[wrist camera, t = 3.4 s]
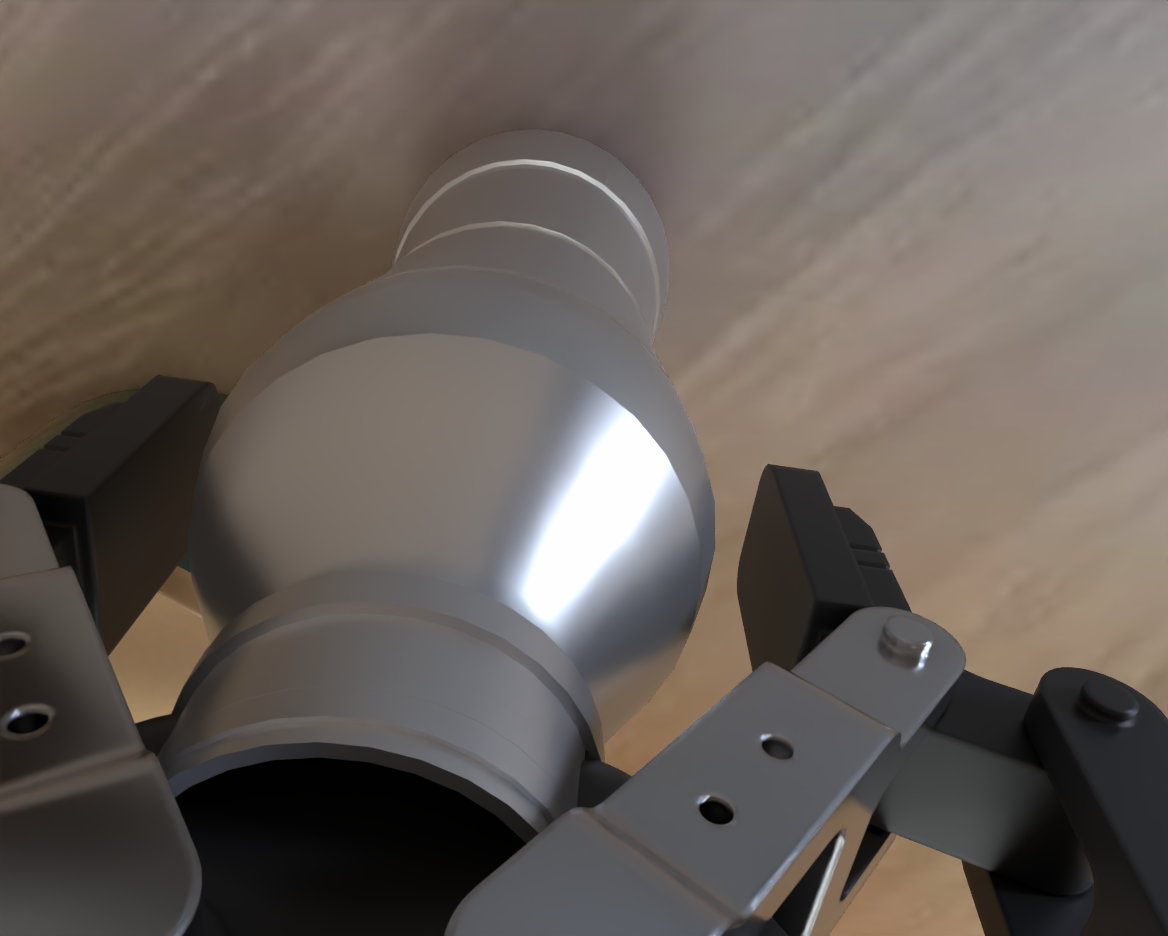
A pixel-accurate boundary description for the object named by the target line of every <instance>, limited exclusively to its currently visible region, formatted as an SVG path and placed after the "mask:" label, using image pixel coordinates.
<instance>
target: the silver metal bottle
mask: <svg viewBox="0 0 1168 936" xmlns="http://www.w3.org/2000/svg"><path fill="white" fill-rule="evenodd" d="M669 281H670V263H669V248H668V244H667V240H666V235H665V231H664V227H663V223H662V221H661V219H660V216H659V214H658V212H657V210H656V208H655V205H654V203H653V201H652V199H651V197H650V196H649V194H648V193H647V192H646V190H645V189H644V187H643V186H642V185H641V183H640V182H639V181H638V179H637V178H636V176H635V175H634V174H633V173H632V172H631V171H630V170H628V169H627V168H626V167H625V166H624V165H623V164H622V163H621V162H620V161H618V160H617V159H616V158H615V157H614V156H613V155H611V154H609V153H608V152H606V151H604V150H603V149H601V148H599V147H597V146H596V145H594V144H592V143H591V142H589V141H586V140H583V139H580V138H577V137H574V136H571V135H568V134H565V133H562V132H555V131H546V130H537V129H528V130H518V131H509V132H502V133H499V134H496V135H493V136H490V137H487V138H484V139H481V140H478V141H476V142H474V143H472V144H470V145H469V146H467V147H465V148H464V149H462V150H460V151H459V152H457V153H455V154H453V155H452V156H451V157H449V158H448V159H447V160H446V161H445V162H444V163H443V164H442V165H441V166H440V167H439V168H437V169H436V170H435V171H434V172H433V173H432V174H431V175H430V176H429V178H428V179H427V180H426V182H425V183H424V185H423V186H422V187H421V189H420V190H419V192H418V193H417V194H416V196H415V197H414V199H413V201H412V203H411V206H410V208H409V210H408V212H407V214H406V217H405V219H404V221H403V223H402V227H401V230H400V233H399V236H398V240H397V244H396V248H395V253H394V257H393V262H392V267H391V269H390V270H389V271H388V272H387V273H386V274H384V275H382V276H380V277H378V278H376V279H374V280H372V281H370V282H368V283H366V284H364V285H362V286H361V287H358V288H355V289H353V290H351V291H350V292H348V293H346V294H344V295H342V296H341V297H339V298H337V299H335V300H334V301H332V302H330V303H328V304H326V305H325V306H323V307H321V308H319V309H318V310H316V311H314V312H312V313H311V314H310V315H309V316H307V317H306V318H305V319H304V320H303V321H301V322H300V323H299V324H297V325H296V326H295V327H293V328H292V329H290V330H289V331H288V332H286V333H285V334H284V335H283V336H282V337H281V338H280V339H279V340H278V341H276V342H275V343H274V344H273V345H272V346H271V347H270V348H269V349H268V350H266V351H265V352H264V353H263V354H262V355H261V356H260V357H259V358H258V359H256V360H255V361H254V362H253V363H252V364H251V365H250V366H249V367H248V368H247V370H246V371H245V373H244V374H243V376H242V377H241V378H240V380H239V381H238V383H237V384H236V386H235V387H234V388H233V390H232V391H231V393H230V394H229V396H228V397H227V398H226V400H225V401H224V403H223V404H222V406H221V408H220V410H219V413H218V415H217V418H216V420H215V423H214V425H213V428H212V430H211V433H210V435H209V438H208V440H207V443H206V445H205V448H204V451H203V455H202V460H201V465H200V469H199V474H198V478H197V483H196V488H195V492H194V499H193V506H192V512H191V519H190V526H189V533H188V544H189V556H190V568H191V580H192V584H193V587H194V591H195V594H196V598H197V601H198V605H199V608H200V612H201V615H202V619H203V622H204V625H205V629H206V632H207V635H208V639H209V642H210V645H209V647H208V648H207V649H206V650H205V652H204V653H203V654H202V656H201V658H200V659H199V661H198V663H197V664H196V666H195V668H194V669H193V671H192V673H191V674H190V676H189V678H188V679H187V681H186V683H185V684H184V686H183V688H182V690H181V693H180V695H179V697H178V699H177V702H176V704H175V706H174V708H173V711H172V713H171V714H173V713H177V712H182V713H181V715H180V717H179V719H178V721H177V723H176V725H175V727H174V728H173V730H172V732H171V734H170V735H169V737H168V739H167V741H166V742H165V744H164V746H163V747H162V749H161V751H160V752H159V754H158V756H157V758H158V760H159V762H160V764H161V766H162V768H163V771H164V773H165V775H166V778H167V780H168V783H169V785H170V788H171V790H172V792H173V795H174V797H176V796H178V795H179V794H181V793H182V792H183V791H185V790H186V789H188V788H189V787H190V786H193V785H195V784H197V783H200V782H202V781H204V780H207V779H209V778H211V777H214V776H216V775H218V774H221V773H223V772H225V771H228V770H231V769H235V768H240V767H244V766H249V765H253V764H258V763H262V762H267V761H271V760H285V759H302V758H330V759H340V760H351V761H361V762H369V763H373V764H377V765H381V766H385V767H389V768H393V769H397V770H401V771H405V772H409V773H413V774H417V775H419V776H421V777H424V778H426V779H428V780H431V781H433V782H436V783H438V784H440V785H443V786H445V787H448V788H450V789H452V790H455V791H457V792H459V793H461V794H462V795H464V796H466V797H467V798H469V799H470V800H472V801H474V802H475V803H477V804H478V805H480V806H482V807H483V808H485V809H486V810H488V811H490V812H491V813H493V814H494V815H496V816H497V817H498V818H499V819H500V820H501V821H502V822H504V823H505V824H506V825H507V826H508V827H509V828H510V829H511V830H512V831H513V832H515V833H516V834H517V835H518V836H519V837H520V838H521V839H522V840H523V841H524V842H526V844H527V843H528V842H530V841H531V840H532V839H533V838H534V837H536V836H537V835H538V834H539V833H540V832H542V831H543V830H544V829H545V828H546V827H547V826H549V825H550V824H551V823H552V822H553V821H555V820H556V819H557V818H559V817H560V816H561V815H562V814H564V813H566V812H567V811H569V810H571V809H574V808H576V807H577V801H578V786H579V774H580V768H581V764H582V761H583V760H585V750H587V751H590V752H589V757H590V758H593V759H596V760H598V761H601V762H604V763H605V755H604V744H605V743H606V742H607V741H608V740H609V739H610V738H611V737H612V736H613V735H615V734H616V733H617V732H618V731H619V730H620V729H621V728H622V727H623V726H624V725H625V724H626V723H627V722H628V721H629V720H630V719H631V718H632V717H634V716H635V715H636V714H637V713H638V712H639V711H640V710H641V709H642V708H643V707H644V706H645V705H646V704H647V703H648V702H649V701H650V700H651V698H652V697H653V696H654V694H655V693H656V692H657V690H658V689H659V688H660V686H661V685H662V684H663V682H664V681H665V680H666V678H667V677H668V676H669V674H670V673H671V672H672V670H673V669H674V667H675V665H676V663H677V661H678V659H679V657H680V654H681V652H682V650H683V648H684V646H685V644H686V641H687V639H688V637H689V635H690V633H691V630H692V628H693V625H694V622H695V620H696V617H697V614H698V611H699V608H700V606H701V603H702V600H703V597H704V594H705V592H706V588H707V583H708V578H709V574H710V569H711V564H712V560H713V555H714V550H715V501H714V497H713V493H712V489H711V484H710V480H709V476H708V472H707V468H706V463H705V459H704V455H703V453H702V450H701V447H700V445H699V442H698V439H697V436H696V433H695V429H694V426H693V424H692V422H691V420H690V418H689V416H688V414H687V412H686V410H685V408H684V406H683V404H682V402H681V400H680V397H679V395H678V393H677V391H676V389H675V387H674V385H673V384H672V382H671V381H670V380H669V378H668V376H667V374H666V372H665V371H664V369H663V367H662V365H661V364H660V362H659V360H658V358H657V357H656V355H655V353H654V351H653V348H652V345H653V342H654V340H655V337H656V334H657V331H658V329H659V326H660V323H661V321H662V317H663V313H664V309H665V306H666V300H667V294H668V287H669Z"/></svg>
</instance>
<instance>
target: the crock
mask: <svg viewBox="0 0 1168 936" xmlns="http://www.w3.org/2000/svg"><path fill="white" fill-rule="evenodd" d="M140 389H141V388H140ZM140 389H134V390H128V391H121V392H115V393H111V394H108V395H104V396H101V397H98V398H95V399H91V400H88V401H85V402H83V403H81V404H79V405H77V406H75V407H73V408H71V409H69V410H67V411H65V412H63V413H61V414H60V415H58V416H57V417H56V418H54V419H53V420H51V421H50V422H48V423H47V424H46V425H44V426H43V427H41V428H40V429H39V430H38V431H36V432H35V433H34V434H32V435H31V436H30V437H29V438H27V439H26V440H25V441H23V442H22V443H21V444H20V445H18V446H17V447H16V448H14V449H13V450H12V451H11V452H9V453H8V454H7V455H5V456H4V457H3V458H2V459H0V480H1V479H2V478H3V477H5V476H6V475H7V474H8V473H10V472H11V471H12V470H13V469H15V468H16V467H17V466H18V465H20V464H21V463H22V462H24V461H25V460H26V459H27V458H29V457H30V456H31V455H32V454H34V453H35V452H36V451H37V450H39V449H44V445H45V444H46V443H47V442H49V441H50V440H51V439H52V438H54V437H55V436H56V435H61V431H62V430H64V429H65V428H66V427H67V426H69V425H70V424H71V423H72V422H74V421H75V420H76V419H78V418H79V417H80V416H81V415H83V414H85V413H88V412H91V411H93V410H96V409H99V408H101V407H104V406H107V405H109V404H112V403H115V402H118V403H124V402H125V401H127V400H128V399H129V398H130V397H131V396H133V395H134V394H135V393H136V392H137V391H139V390H140ZM227 397H228V396H225V395H220V394H218V398H219V410H220V408H221V406H222V404H223V403H224V401H225V400H226V398H227ZM209 645H210V642H209V639H208V635H207V632H206V629H205V625H204V622H203V619H202V615H201V612H200V608H199V605H198V601H197V598H196V594H195V591H194V587H193V584H192V580H191V568H190V556H189V551H188V553H187V554H186V555H185V557H184V558H183V559H182V561H181V562H180V563H179V564H178V566H177V567H176V568H175V570H174V571H173V572H172V574H171V575H170V576H169V578H168V579H167V580H166V582H165V583H164V584H163V585H162V587H161V588H160V589H159V591H158V592H157V593H156V595H155V596H154V597H153V599H152V600H151V601H150V603H149V604H148V605H147V606H146V608H145V609H144V610H143V612H142V613H141V614H140V616H139V617H138V618H137V620H136V621H135V622H134V624H133V625H132V626H131V628H130V629H129V630H128V631H127V633H126V634H125V635H124V637H123V638H122V639H121V641H120V642H119V643H118V645H117V646H116V647H115V649H114V650H113V651H112V652H111V654H110V655H109V656H108V657H109V660H110V662H111V665H112V667H113V670H114V672H115V675H116V677H117V680H118V682H119V685H120V687H121V690H122V692H123V695H124V697H125V700H126V702H127V705H128V707H129V710H130V712H131V715H132V717H133V720H134V722H135V723H138V722H141V721H145V720H148V719H151V718H155V717H159V716H164V715H168V714H171V713H172V711H173V708H174V706H175V704H176V702H177V699H178V697H179V695H180V693H181V690H182V688H183V686H184V684H185V683H186V681H187V679H188V678H189V676H190V674H191V673H192V671H193V669H194V668H195V666H196V664H197V663H198V661H199V659H200V658H201V656H202V654H203V653H204V652H205V650H206V649H207V648H208V647H209Z"/></svg>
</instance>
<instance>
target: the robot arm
mask: <svg viewBox="0 0 1168 936" xmlns="http://www.w3.org/2000/svg"><path fill="white" fill-rule="evenodd" d="M218 413H219V398H218V393H217V389H216V387H215V386H214V384H213V383H210V382H203V381H197V380H190V379H183V378H176V377H169V376H162V375H158V376H156V377H154V378H153V379H152V380H150V381H149V382H148V383H147V384H146V385H145V386H143V387H142V388H141V389H140V390H139V391H137V392H136V393H135V394H134V395H133V396H131V397H130V398H129V399H128V400H127V401H125V402H124V403H118V402H115V403H112V404H109V405H107V406H104V407H101V408H99V409H96V410H93V411H91V412H88V413H85V414H83V415H81V416H80V417H79V418H78V419H76V420H75V421H74V422H72V423H71V424H70V425H69V426H67V427H66V428H65V429H64V430H62V431H61V435H56V436H55V437H54V438H52V439H51V440H50V441H49V442H47V443H46V444H45V445H44V449H39V450H37V451H36V452H35V453H34V454H32V455H31V456H30V457H29V458H27V459H26V460H25V461H24V462H22V463H21V464H20V465H18V466H17V467H16V468H15V469H13V470H12V471H11V472H10V473H8V474H7V475H6V476H5V477H3V478H2V479H1V480H0V936H829V935H830V933H831V932H832V930H833V929H834V927H835V926H836V924H837V923H838V921H839V920H840V919H841V917H842V916H843V914H844V913H845V911H846V910H847V908H848V907H849V905H850V904H851V903H852V901H853V900H854V898H855V897H856V895H857V894H858V892H859V891H860V889H861V888H862V887H863V885H864V884H865V882H866V881H867V879H868V878H869V876H870V875H871V874H872V872H873V871H874V869H875V868H876V866H877V865H878V863H879V862H880V860H881V859H882V858H883V856H884V855H885V853H886V852H887V850H888V849H889V847H890V846H891V844H892V843H893V841H894V839H895V837H896V835H899V836H901V837H904V838H907V839H909V840H912V841H914V842H917V843H919V844H922V845H925V846H927V847H930V848H932V849H935V850H938V851H940V852H943V853H945V854H948V855H951V856H953V857H956V858H958V859H961V860H962V865H963V869H964V872H965V875H966V878H967V882H968V885H969V888H970V891H971V894H972V897H973V900H974V903H975V906H976V909H977V912H978V915H979V918H980V921H981V924H982V928H983V931H984V934H985V936H1168V719H1167V718H1166V716H1165V715H1164V714H1163V713H1162V711H1161V710H1160V709H1159V708H1158V707H1157V706H1156V705H1155V704H1154V703H1152V702H1151V701H1150V700H1149V699H1148V698H1146V697H1145V696H1144V695H1142V694H1141V693H1139V692H1138V691H1136V690H1135V689H1133V688H1131V687H1130V686H1128V685H1126V684H1124V683H1122V682H1120V681H1118V680H1116V679H1114V678H1111V677H1109V676H1106V675H1104V674H1100V673H1097V672H1094V671H1090V670H1086V669H1081V668H1072V667H1062V668H1055V669H1053V670H1050V671H1048V672H1047V673H1045V674H1044V675H1043V677H1042V678H1041V680H1040V682H1039V684H1038V687H1037V689H1036V691H1035V693H1034V695H1032V694H1029V693H1026V692H1023V691H1020V690H1017V689H1014V688H1011V687H1008V686H1005V685H1002V684H999V683H996V682H993V681H990V680H988V679H985V678H982V677H980V676H977V675H975V674H973V673H971V672H968V671H966V670H964V668H965V665H966V656H965V653H964V651H963V648H962V647H961V645H960V644H959V643H958V641H957V640H956V639H955V638H954V637H953V636H952V635H951V634H950V633H948V632H947V631H946V630H945V629H943V628H942V627H940V626H939V625H937V624H936V623H934V622H932V621H930V620H928V619H926V618H924V617H922V616H920V615H917V614H914V613H912V611H911V609H910V607H909V605H908V603H907V601H906V599H905V597H904V595H903V592H902V590H901V588H900V586H899V584H898V582H897V580H896V578H895V576H894V573H893V571H892V570H889V567H890V565H889V563H888V561H887V559H886V557H885V555H884V553H881V550H882V548H881V546H880V544H879V542H878V540H877V538H876V536H875V534H874V531H873V529H872V528H871V527H870V526H869V525H868V524H867V523H866V522H864V521H863V520H862V519H861V518H860V517H859V516H858V515H857V514H855V513H854V512H853V511H852V510H851V509H850V508H844V507H837V506H833V504H832V501H831V499H830V497H829V494H828V492H827V489H826V487H825V485H824V482H823V480H822V478H821V475H820V473H819V472H818V471H813V470H806V469H799V468H792V467H785V466H778V465H771V464H768V465H767V466H766V467H765V469H764V470H763V473H762V475H761V478H760V482H759V486H758V490H757V494H756V497H755V501H754V505H753V509H752V513H751V517H750V521H749V525H748V529H747V532H746V536H745V540H744V544H743V548H742V552H741V556H740V561H739V567H738V577H737V595H738V601H739V606H740V611H741V616H742V621H743V626H744V631H745V636H746V641H747V646H748V651H749V656H750V661H751V666H752V671H753V672H752V673H751V674H750V675H749V676H748V677H746V678H745V679H744V680H743V681H742V682H741V683H740V684H738V685H737V686H736V687H735V688H734V689H733V690H731V691H730V692H729V693H728V694H727V695H726V696H725V697H723V698H722V699H721V700H720V701H719V702H718V703H716V704H715V705H714V706H713V707H712V708H711V709H710V710H708V711H707V712H706V713H705V714H704V715H703V716H702V717H700V718H699V719H698V720H697V721H696V722H695V723H693V724H692V725H691V726H690V727H689V728H688V729H687V730H685V731H684V732H683V733H682V734H681V735H680V736H678V737H677V738H676V739H675V740H674V741H673V742H672V743H670V744H669V745H668V746H667V747H666V748H665V749H663V750H662V751H661V752H660V753H659V754H658V755H657V756H655V757H654V758H653V759H652V760H651V761H650V762H649V763H647V764H646V765H645V766H644V767H643V768H642V769H640V770H639V771H638V772H637V773H636V774H635V775H634V776H630V775H628V774H627V773H625V772H623V771H621V770H619V769H617V768H615V767H613V766H610V765H608V764H606V763H604V762H601V761H598V760H596V759H593V758H590V757H589V752H590V751H587V750H585V760H583V761H582V764H581V768H580V774H579V786H578V801H577V807H576V808H574V809H571V810H569V811H567V812H566V813H564V814H562V815H561V816H560V817H559V818H557V819H556V820H555V821H553V822H552V823H551V824H550V825H549V826H547V827H546V828H545V829H544V830H543V831H542V832H540V833H539V834H538V835H537V836H536V837H534V838H533V839H532V840H531V841H530V842H528V843H527V844H526V842H524V841H523V840H522V839H521V838H520V837H519V836H518V835H517V834H516V833H515V832H513V831H512V830H511V829H510V828H509V827H508V826H507V825H506V824H505V823H504V822H502V821H501V820H500V819H499V818H498V817H497V816H496V815H494V814H493V813H491V812H490V811H488V810H486V809H485V808H483V807H482V806H480V805H478V804H477V803H475V802H474V801H472V800H470V799H469V798H467V797H466V796H464V795H462V794H461V793H459V792H457V791H455V790H452V789H450V788H448V787H445V786H443V785H440V784H438V783H436V782H433V781H431V780H428V779H426V778H424V777H421V776H419V775H417V774H413V773H409V772H405V771H401V770H397V769H393V768H389V767H385V766H381V765H377V764H373V763H369V762H361V761H351V760H340V759H330V758H302V759H285V760H271V761H267V762H262V763H258V764H253V765H249V766H244V767H240V768H235V769H231V770H228V771H225V772H223V773H221V774H218V775H216V776H214V777H211V778H209V779H207V780H204V781H202V782H200V783H197V784H195V785H193V786H190V787H189V788H188V789H186V790H185V791H183V792H182V793H181V794H179V795H178V796H176V797H174V795H173V792H172V790H171V788H170V785H169V783H168V780H167V778H166V775H165V773H164V771H163V768H162V766H161V764H160V762H159V760H158V758H157V756H158V754H159V752H160V751H161V749H162V747H163V746H164V744H165V742H166V741H167V739H168V737H169V735H170V734H171V732H172V730H173V728H174V727H175V725H176V723H177V721H178V719H179V717H180V715H181V713H182V712H177V713H173V714H168V715H164V716H159V717H155V718H151V719H148V720H145V721H141V722H138V723H135V722H134V720H133V717H132V715H131V712H130V710H129V707H128V705H127V702H126V700H125V697H124V695H123V692H122V690H121V687H120V685H119V682H118V680H117V677H116V675H115V672H114V670H113V667H112V665H111V662H110V660H109V657H108V656H109V655H110V654H111V652H112V651H113V650H114V649H115V647H116V646H117V645H118V643H119V642H120V641H121V639H122V638H123V637H124V635H125V634H126V633H127V631H128V630H129V629H130V628H131V626H132V625H133V624H134V622H135V621H136V620H137V618H138V617H139V616H140V614H141V613H142V612H143V610H144V609H145V608H146V606H147V605H148V604H149V603H150V601H151V600H152V599H153V597H154V596H155V595H156V593H157V592H158V591H159V589H160V588H161V587H162V585H163V584H164V583H165V582H166V580H167V579H168V578H169V576H170V575H171V574H172V572H173V571H174V570H175V568H176V567H177V566H178V564H179V563H180V562H181V561H182V559H183V558H184V557H185V555H186V554H187V553H188V551H189V544H188V533H189V526H190V519H191V512H192V506H193V499H194V492H195V488H196V483H197V478H198V474H199V469H200V465H201V460H202V455H203V451H204V448H205V445H206V443H207V440H208V438H209V435H210V433H211V430H212V428H213V425H214V423H215V420H216V418H217V415H218Z"/></svg>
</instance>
